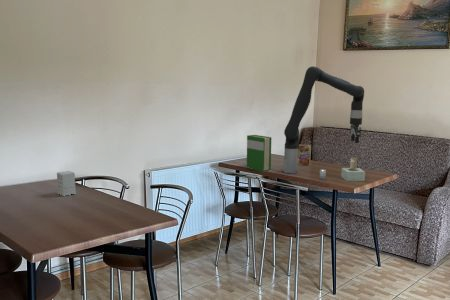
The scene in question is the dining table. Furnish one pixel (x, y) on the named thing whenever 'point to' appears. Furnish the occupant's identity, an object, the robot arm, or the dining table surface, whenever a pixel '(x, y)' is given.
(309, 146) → the candy box
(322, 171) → the short pin
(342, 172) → the hole block
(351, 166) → the tall pin
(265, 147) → the hardback book
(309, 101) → the robot arm
